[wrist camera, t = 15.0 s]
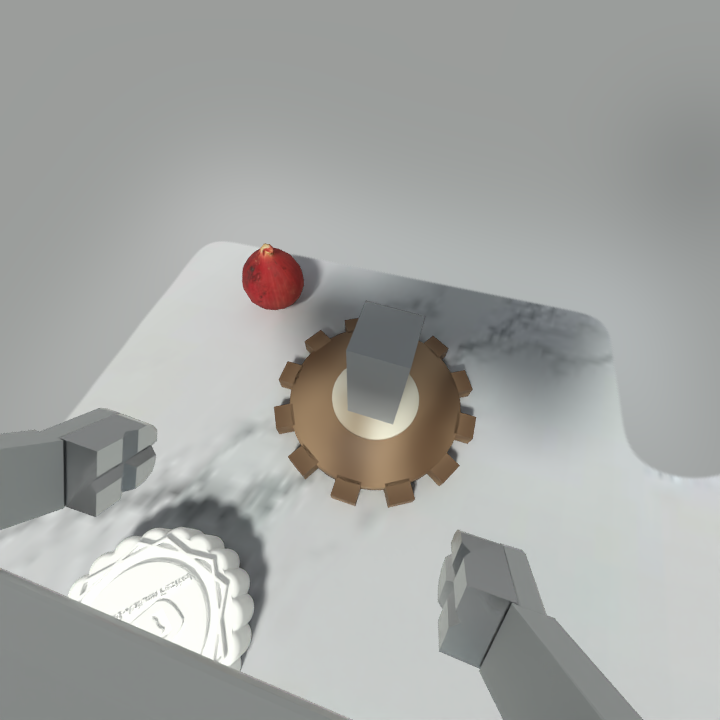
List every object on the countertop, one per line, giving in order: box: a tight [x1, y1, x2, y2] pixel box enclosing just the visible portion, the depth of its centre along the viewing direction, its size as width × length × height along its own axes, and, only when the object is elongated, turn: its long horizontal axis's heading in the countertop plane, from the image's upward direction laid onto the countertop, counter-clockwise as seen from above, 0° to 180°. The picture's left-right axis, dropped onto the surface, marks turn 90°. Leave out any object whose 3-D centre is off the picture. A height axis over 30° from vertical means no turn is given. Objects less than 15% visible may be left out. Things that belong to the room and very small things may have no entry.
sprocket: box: [274, 318, 476, 508], centre depth 31 cm, size 18×18×2 cm
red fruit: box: [242, 244, 304, 310], centre depth 34 cm, size 6×6×8 cm
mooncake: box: [68, 527, 254, 671], centre depth 22 cm, size 12×12×4 cm
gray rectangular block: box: [346, 301, 425, 424], centre depth 26 cm, size 4×4×10 cm
